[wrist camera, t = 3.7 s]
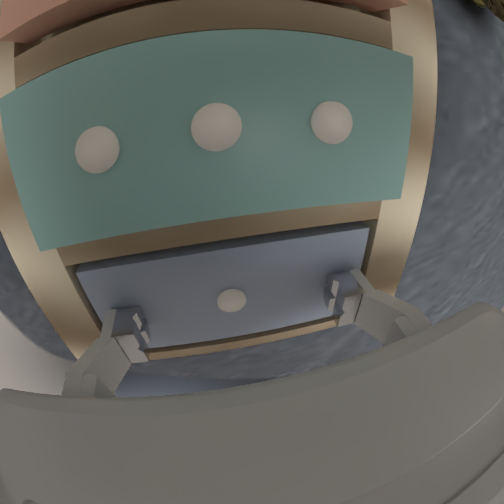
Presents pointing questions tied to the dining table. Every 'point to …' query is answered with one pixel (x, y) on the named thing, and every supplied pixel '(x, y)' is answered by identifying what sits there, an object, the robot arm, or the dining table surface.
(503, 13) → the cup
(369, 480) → the robot arm
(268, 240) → the key one
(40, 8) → the key two
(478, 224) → the dining table surface
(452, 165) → the dining table surface
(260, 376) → the dining table surface
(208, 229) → the board
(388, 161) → the key three
